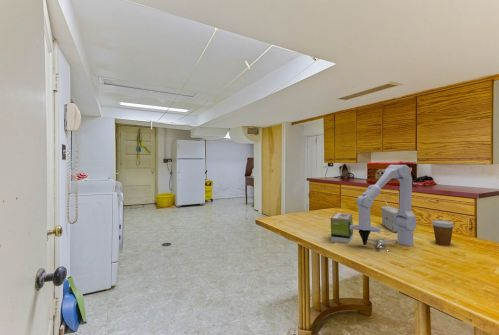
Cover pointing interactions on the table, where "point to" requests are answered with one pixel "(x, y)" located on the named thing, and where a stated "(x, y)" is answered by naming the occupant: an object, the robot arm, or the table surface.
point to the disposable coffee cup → (443, 231)
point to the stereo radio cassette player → (389, 217)
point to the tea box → (341, 227)
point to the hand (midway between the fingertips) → (364, 244)
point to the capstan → (380, 243)
